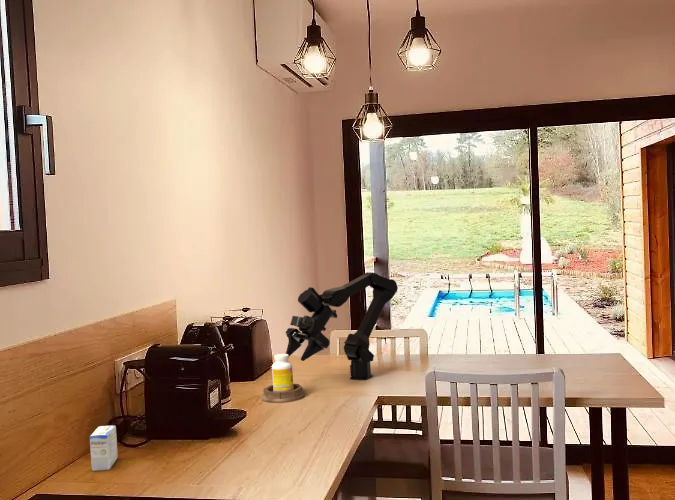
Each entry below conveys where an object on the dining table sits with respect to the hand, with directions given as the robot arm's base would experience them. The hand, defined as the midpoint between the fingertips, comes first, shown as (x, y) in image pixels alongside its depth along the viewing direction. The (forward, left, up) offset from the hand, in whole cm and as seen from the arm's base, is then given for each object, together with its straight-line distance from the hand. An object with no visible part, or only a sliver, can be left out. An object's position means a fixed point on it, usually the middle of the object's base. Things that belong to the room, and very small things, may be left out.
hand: (293, 358), depth 224 cm
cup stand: (+2, +4, -12) cm, 13 cm away
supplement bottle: (+2, +4, -11) cm, 12 cm away
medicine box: (+14, +71, -12) cm, 74 cm away
